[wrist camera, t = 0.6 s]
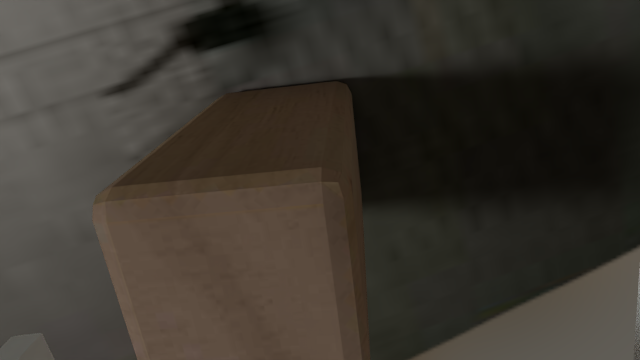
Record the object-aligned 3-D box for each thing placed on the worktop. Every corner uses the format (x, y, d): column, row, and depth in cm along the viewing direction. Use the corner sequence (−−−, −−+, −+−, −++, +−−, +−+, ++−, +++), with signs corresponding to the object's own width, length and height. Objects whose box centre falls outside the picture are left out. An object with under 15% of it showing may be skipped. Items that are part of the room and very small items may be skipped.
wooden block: (350, 77, 35) (348, 174, 16) (362, 202, 38) (373, 399, 20) (217, 92, 36) (72, 199, 17) (241, 212, 39) (143, 409, 21)
